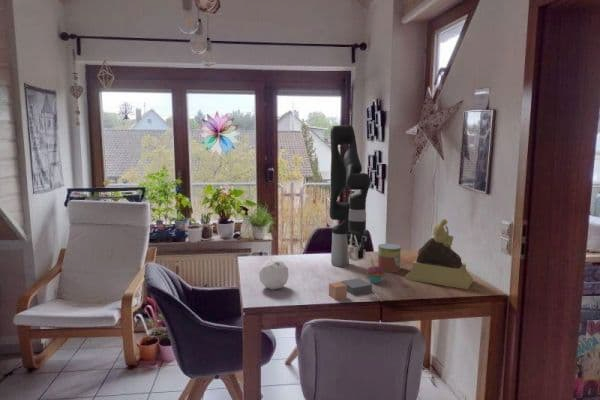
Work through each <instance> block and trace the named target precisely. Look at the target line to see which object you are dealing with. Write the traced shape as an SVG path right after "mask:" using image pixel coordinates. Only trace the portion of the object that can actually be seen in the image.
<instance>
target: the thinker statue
mask: <svg viewBox="0 0 600 400" xmlns="http://www.w3.org/2000/svg"><path fill="white" fill-rule="evenodd" d="M447 224H448V220H447V219H446V218H443V219H441V220H440V222H439V223H436V225H435V227H434V228H433V232H432V233H433V234H432V235H433V237H432V238H430V239H428V240H427V241H426V242H425V243H424V244H423V245H422V247H420V248H419V249H418V251H417V252H418V254H417V257H416V258H417V259H415V260H414V261H413V262H412V267H411V270H410V271H409V272H408V273H407V274H405V280H408V281H409V280H410V281H413V282H414V281H415V282H421V283H428V284H432V285H439V286H445V287H450V288H457V289H463V290H469V288H470V286H472V284H473V280H474V277H473V276H472V275H471V274H470V273H469V272H468V270H467V267H466V266H467V265H466V264H467V263H464V262H462V258H461V256H460V255H459V254H458V253H456V252H455V251H454V249H453V248H452V245H453V240H454V236H452V235H449V233H450V232H449V228H448V225H447Z"/></svg>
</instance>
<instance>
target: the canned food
mask: <svg viewBox="0 0 600 400" xmlns="http://www.w3.org/2000/svg"><path fill="white" fill-rule="evenodd" d="M401 247H402V246H401V245H399V244H396V243H381V244H378V246H377V248H378V249H377V250H378V253H377V255H378V256H377V267H381V268H382V269H383V270H384V271H385V273H397V272H399V271H401Z"/></svg>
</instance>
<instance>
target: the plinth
mask: <svg viewBox="0 0 600 400" xmlns="http://www.w3.org/2000/svg"><path fill="white" fill-rule="evenodd" d="M340 282H342V283H343V284H345V285H347V293H349V294H351V295H359V294H364V293H370V292H372V291H373V283H371V282H368V281H366V280H364V279H362V278H360V277H358V278H351V279H346V280H345V279H344V280H340Z"/></svg>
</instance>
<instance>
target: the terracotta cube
mask: <svg viewBox="0 0 600 400" xmlns="http://www.w3.org/2000/svg"><path fill="white" fill-rule="evenodd" d="M347 293H348V292H347V285H345V284H343V283H342V282H341V281H337V282H335V281H334V282H330V283H328V296H329V297H330V298H332V299H333V300H335V301H336V300H343V299H347V297H348V295H347Z"/></svg>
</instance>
